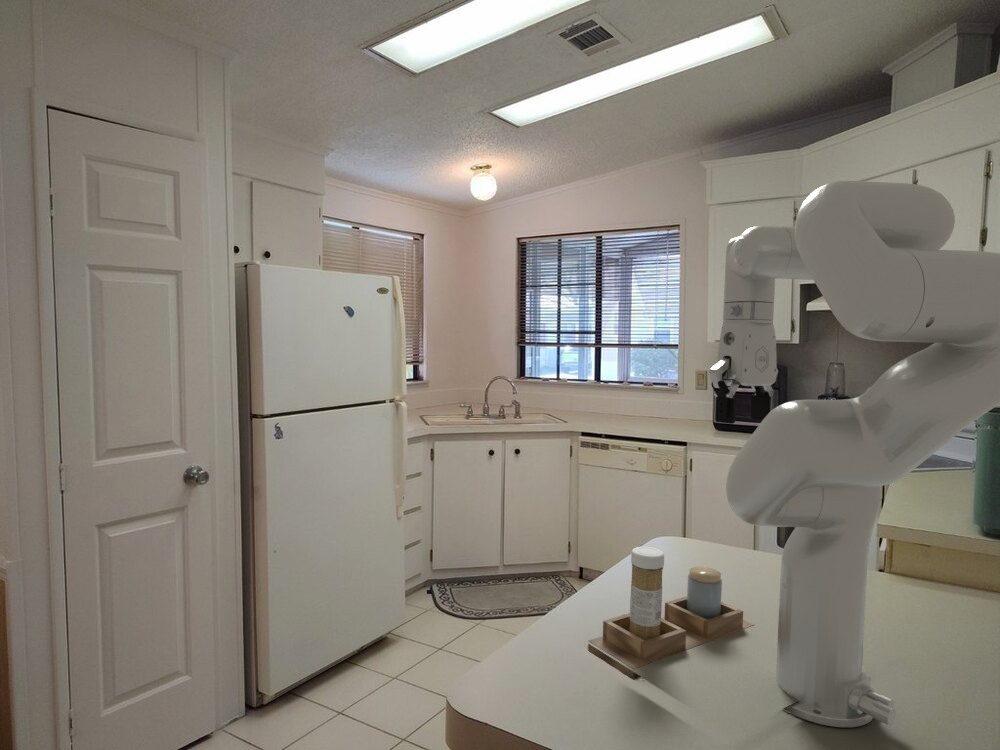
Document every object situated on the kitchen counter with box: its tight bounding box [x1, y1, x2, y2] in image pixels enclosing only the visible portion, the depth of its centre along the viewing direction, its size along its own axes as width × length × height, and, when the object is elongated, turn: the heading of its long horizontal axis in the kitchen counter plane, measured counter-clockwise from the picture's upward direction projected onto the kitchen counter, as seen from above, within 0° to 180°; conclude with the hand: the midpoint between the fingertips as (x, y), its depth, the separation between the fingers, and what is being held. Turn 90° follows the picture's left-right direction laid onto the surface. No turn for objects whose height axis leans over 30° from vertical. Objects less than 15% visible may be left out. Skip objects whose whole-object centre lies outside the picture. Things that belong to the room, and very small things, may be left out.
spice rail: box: [587, 595, 755, 681], centre depth 91 cm, size 9×26×4 cm, turn 123°
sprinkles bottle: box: [629, 546, 665, 641], centre depth 87 cm, size 5×5×13 cm
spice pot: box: [686, 566, 723, 620], centre depth 95 cm, size 5×5×8 cm
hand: (742, 420), depth 99 cm, fingers open, 9 cm apart
